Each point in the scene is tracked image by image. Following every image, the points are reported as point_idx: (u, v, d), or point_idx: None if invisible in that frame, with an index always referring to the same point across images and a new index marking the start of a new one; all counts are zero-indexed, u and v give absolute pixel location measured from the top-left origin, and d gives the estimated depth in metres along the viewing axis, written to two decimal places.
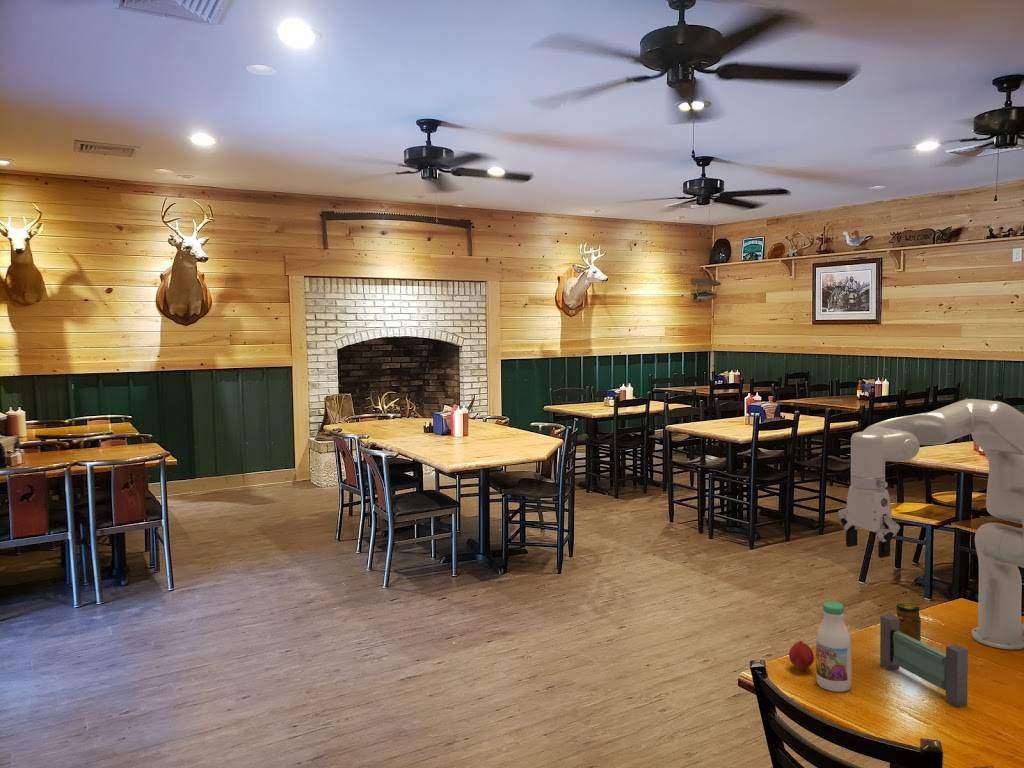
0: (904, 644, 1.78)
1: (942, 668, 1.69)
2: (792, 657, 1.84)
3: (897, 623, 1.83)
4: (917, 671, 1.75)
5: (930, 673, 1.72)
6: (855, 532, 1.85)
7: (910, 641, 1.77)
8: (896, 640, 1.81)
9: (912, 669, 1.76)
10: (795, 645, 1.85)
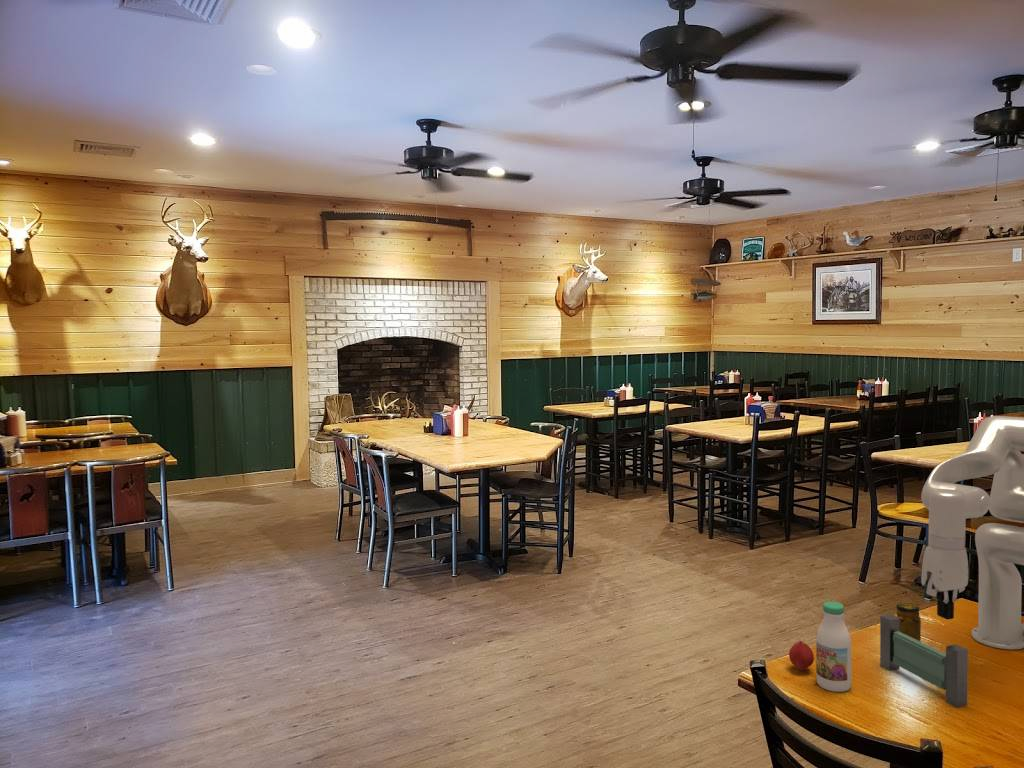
0: (904, 644, 1.78)
1: (942, 668, 1.69)
2: (792, 657, 1.84)
3: (897, 623, 1.83)
4: (917, 671, 1.75)
5: (930, 673, 1.72)
6: None
7: (910, 641, 1.77)
8: (896, 640, 1.81)
9: (912, 669, 1.76)
10: (795, 645, 1.85)
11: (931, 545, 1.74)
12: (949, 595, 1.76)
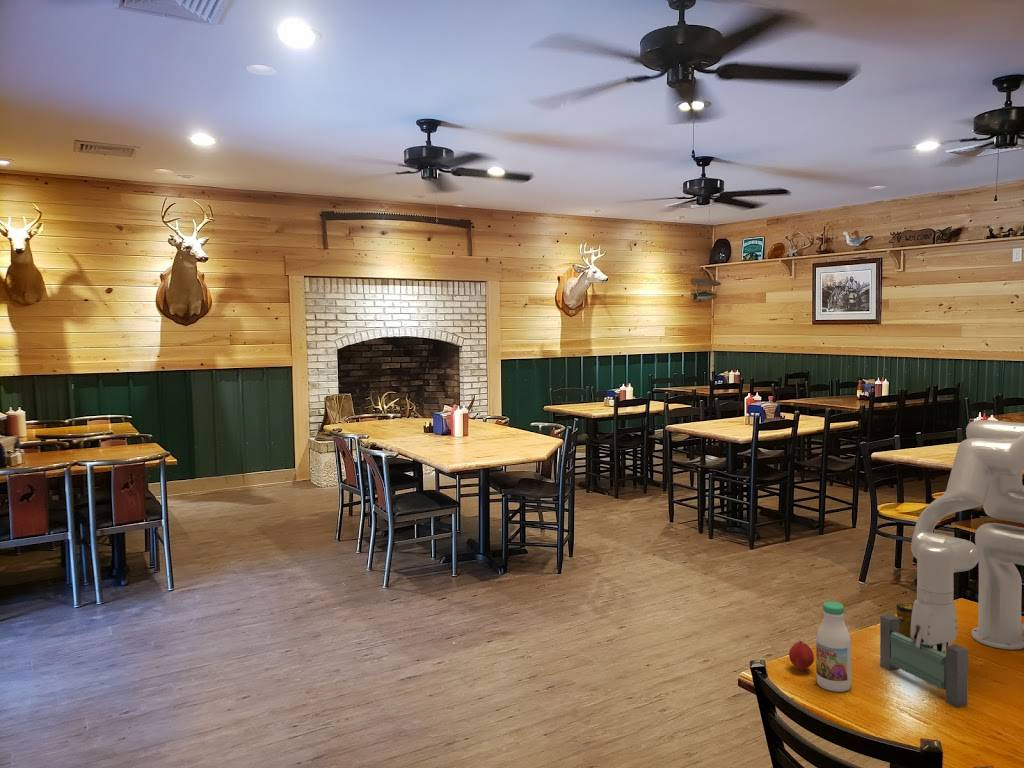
0: (902, 645, 1.78)
1: (942, 669, 1.69)
2: (792, 657, 1.84)
3: (897, 623, 1.83)
4: (915, 672, 1.75)
5: (929, 673, 1.72)
6: None
7: (908, 642, 1.77)
8: (893, 640, 1.80)
9: (910, 670, 1.76)
10: (795, 645, 1.85)
11: (919, 599, 1.74)
12: (938, 648, 1.76)
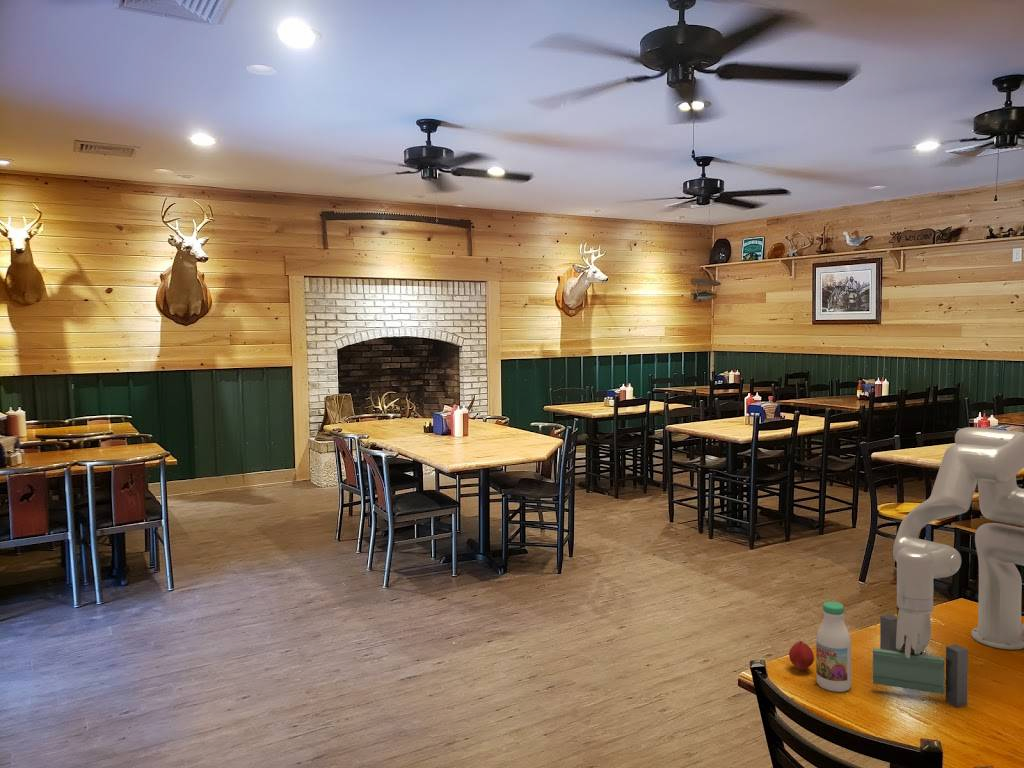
0: (890, 660, 1.71)
1: (941, 673, 1.67)
2: (792, 657, 1.84)
3: None
4: (909, 684, 1.69)
5: (925, 681, 1.68)
6: None
7: (897, 655, 1.70)
8: (879, 658, 1.72)
9: (902, 683, 1.70)
10: (795, 645, 1.85)
11: (905, 608, 1.70)
12: None
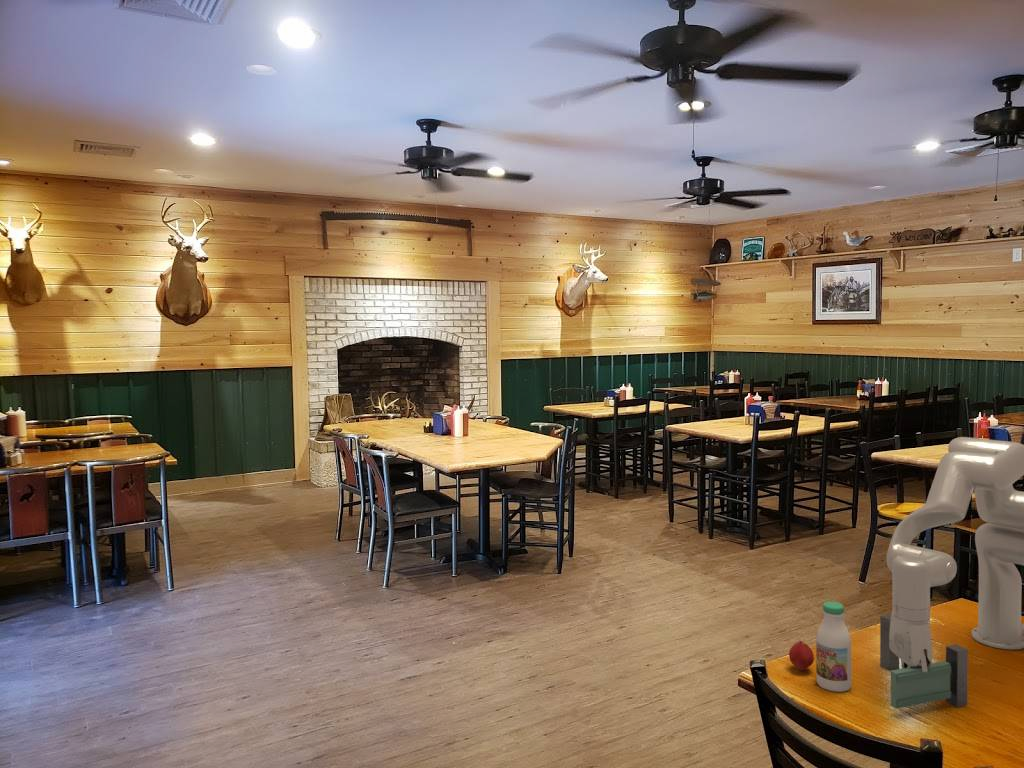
0: (911, 678, 1.62)
1: (948, 677, 1.65)
2: (792, 657, 1.84)
3: None
4: (925, 698, 1.63)
5: (936, 691, 1.64)
6: None
7: (915, 671, 1.62)
8: (902, 680, 1.61)
9: (920, 699, 1.63)
10: (795, 645, 1.85)
11: (916, 621, 1.63)
12: None
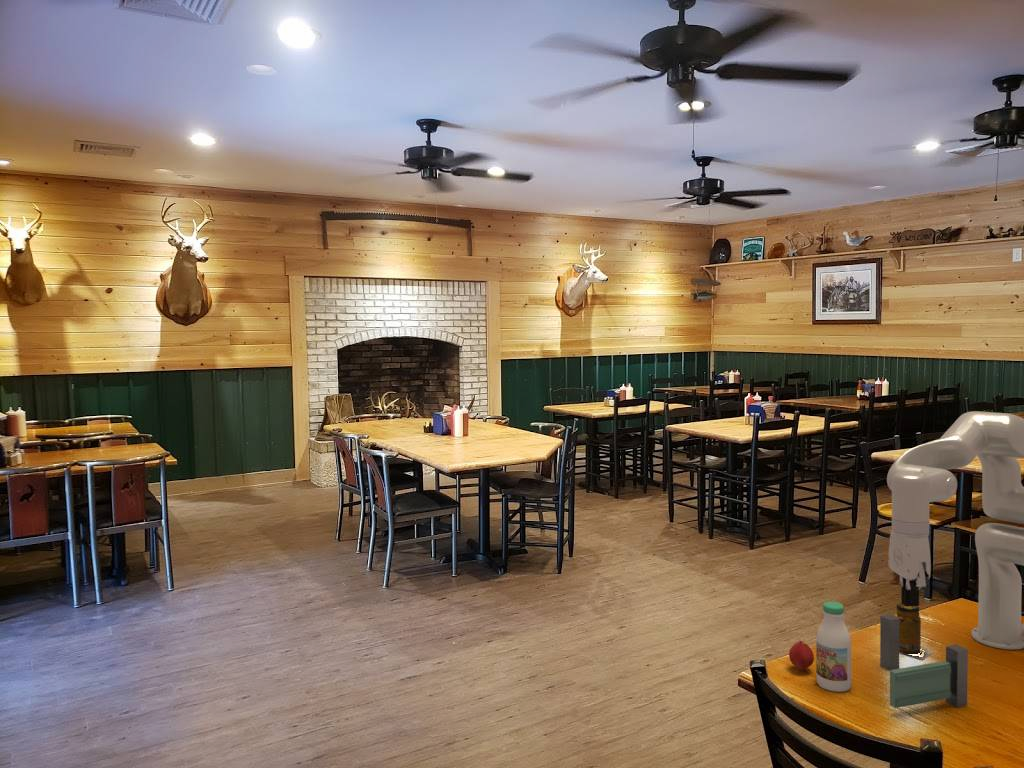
0: (911, 678, 1.62)
1: (948, 677, 1.65)
2: (792, 657, 1.84)
3: (897, 623, 1.83)
4: (925, 698, 1.63)
5: (935, 690, 1.64)
6: None
7: (914, 671, 1.62)
8: (901, 679, 1.61)
9: (920, 699, 1.63)
10: (795, 645, 1.85)
11: (914, 534, 1.63)
12: None
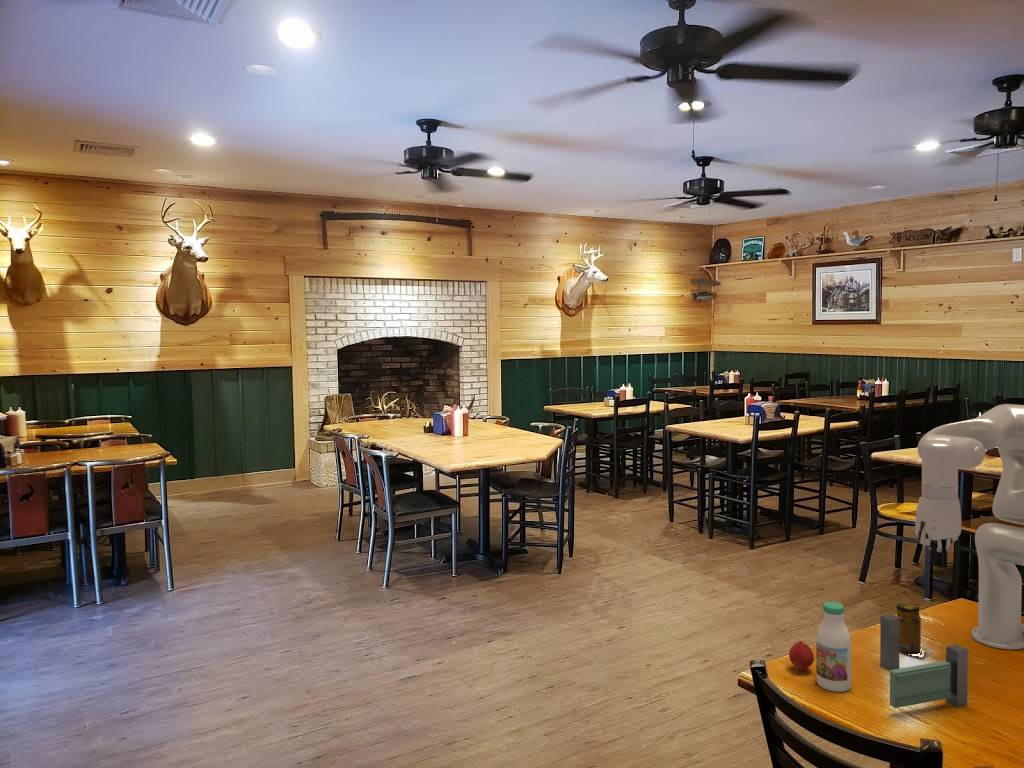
0: (911, 678, 1.62)
1: (948, 677, 1.65)
2: (792, 657, 1.84)
3: (897, 623, 1.83)
4: (925, 698, 1.63)
5: (935, 690, 1.64)
6: None
7: (914, 671, 1.62)
8: (901, 679, 1.61)
9: (920, 699, 1.63)
10: (795, 645, 1.85)
11: (924, 495, 1.77)
12: (942, 544, 1.78)
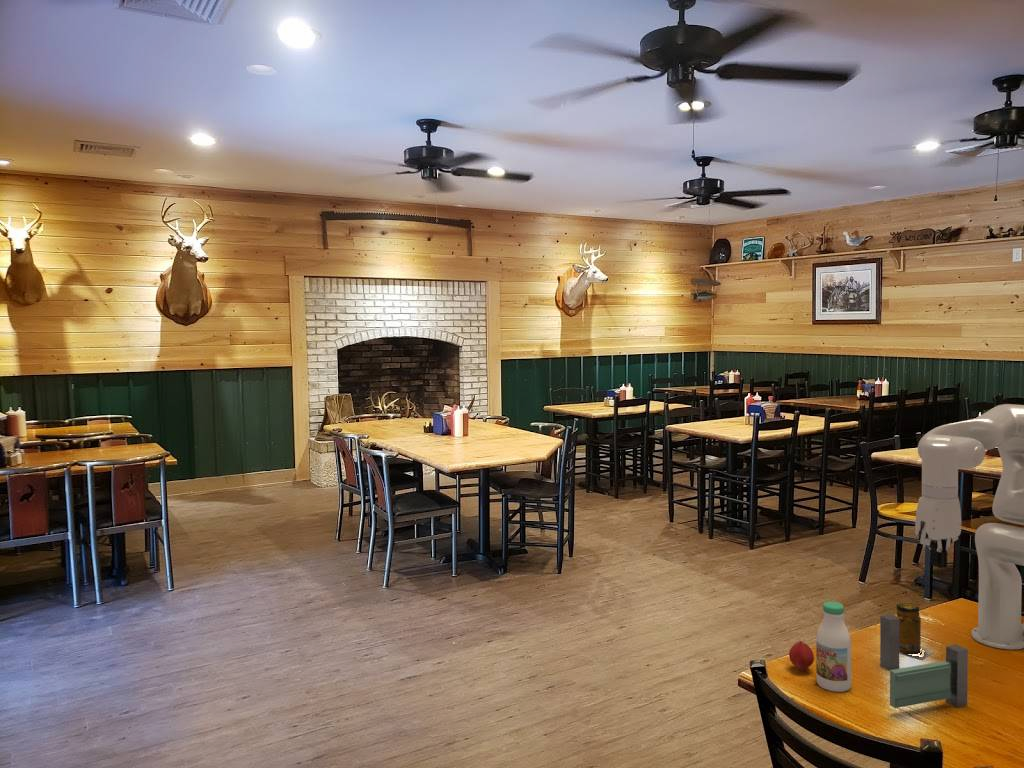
0: (911, 678, 1.62)
1: (948, 677, 1.65)
2: (792, 657, 1.84)
3: (897, 623, 1.83)
4: (925, 698, 1.63)
5: (935, 690, 1.64)
6: None
7: (914, 671, 1.62)
8: (901, 679, 1.61)
9: (920, 699, 1.63)
10: (795, 645, 1.85)
11: (924, 495, 1.77)
12: (942, 544, 1.78)
